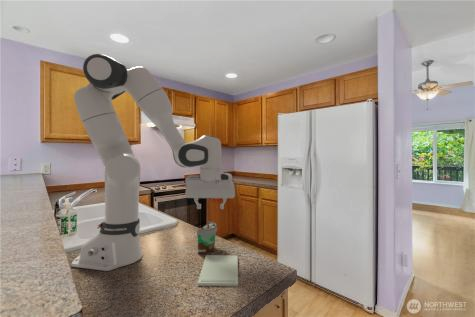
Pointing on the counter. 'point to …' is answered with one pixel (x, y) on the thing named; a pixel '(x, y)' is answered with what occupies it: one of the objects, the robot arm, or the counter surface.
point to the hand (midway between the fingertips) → (210, 208)
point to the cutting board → (219, 271)
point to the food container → (206, 238)
